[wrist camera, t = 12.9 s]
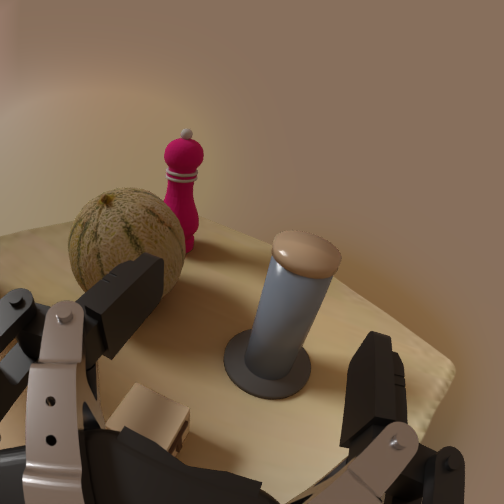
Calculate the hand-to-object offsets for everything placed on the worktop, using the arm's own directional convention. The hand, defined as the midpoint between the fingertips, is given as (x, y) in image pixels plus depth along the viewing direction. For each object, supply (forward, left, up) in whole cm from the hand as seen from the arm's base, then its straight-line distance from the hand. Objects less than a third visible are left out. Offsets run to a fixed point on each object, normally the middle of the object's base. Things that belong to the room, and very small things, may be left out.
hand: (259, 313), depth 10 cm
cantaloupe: (-19, +16, -19) cm, 31 cm away
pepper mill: (-20, +31, -19) cm, 42 cm away
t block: (-6, 0, -19) cm, 20 cm away
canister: (+1, +14, -19) cm, 23 cm away
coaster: (+1, +14, -19) cm, 24 cm away
